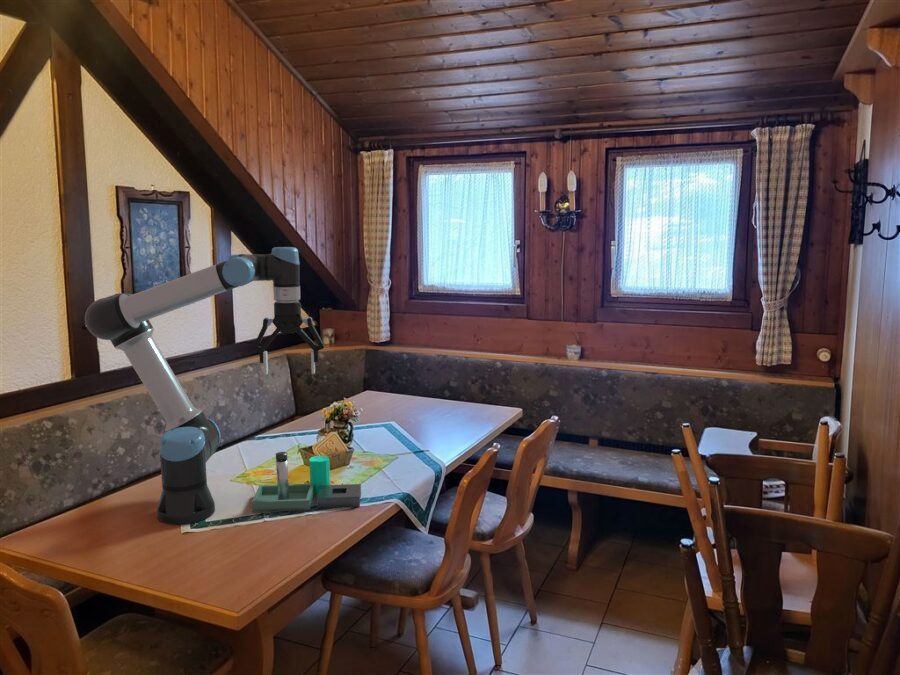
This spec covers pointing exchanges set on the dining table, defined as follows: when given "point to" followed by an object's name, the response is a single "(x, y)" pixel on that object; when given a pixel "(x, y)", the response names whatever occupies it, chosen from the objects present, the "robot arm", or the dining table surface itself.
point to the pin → (282, 476)
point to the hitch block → (339, 496)
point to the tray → (269, 500)
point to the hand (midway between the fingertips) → (289, 373)
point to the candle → (319, 472)
